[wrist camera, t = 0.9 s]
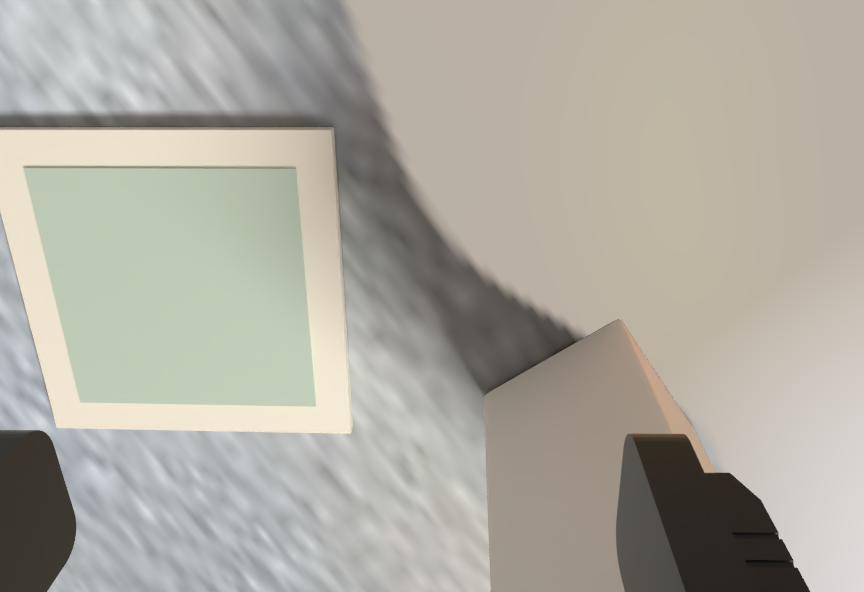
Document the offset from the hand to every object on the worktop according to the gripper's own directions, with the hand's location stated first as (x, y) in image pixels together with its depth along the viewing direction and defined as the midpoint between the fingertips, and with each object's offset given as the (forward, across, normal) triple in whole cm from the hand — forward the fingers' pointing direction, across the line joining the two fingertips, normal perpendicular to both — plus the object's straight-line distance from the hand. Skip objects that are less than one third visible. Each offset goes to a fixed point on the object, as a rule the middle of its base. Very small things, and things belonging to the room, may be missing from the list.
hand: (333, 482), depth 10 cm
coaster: (+20, +11, +6) cm, 24 cm away
